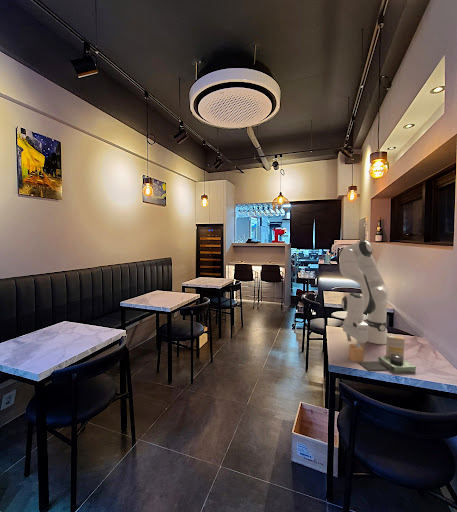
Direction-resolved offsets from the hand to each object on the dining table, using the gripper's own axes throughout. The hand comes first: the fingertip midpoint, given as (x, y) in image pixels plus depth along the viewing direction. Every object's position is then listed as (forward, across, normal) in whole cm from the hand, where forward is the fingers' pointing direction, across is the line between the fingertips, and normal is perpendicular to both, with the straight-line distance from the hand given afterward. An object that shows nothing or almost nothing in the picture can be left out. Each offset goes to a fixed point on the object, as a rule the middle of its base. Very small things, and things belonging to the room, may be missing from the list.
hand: (353, 344), depth 145 cm
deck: (+8, +10, +19) cm, 23 cm away
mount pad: (+8, +10, +6) cm, 14 cm away
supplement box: (+8, 0, +25) cm, 27 cm away
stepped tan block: (+8, +1, +1) cm, 8 cm away
